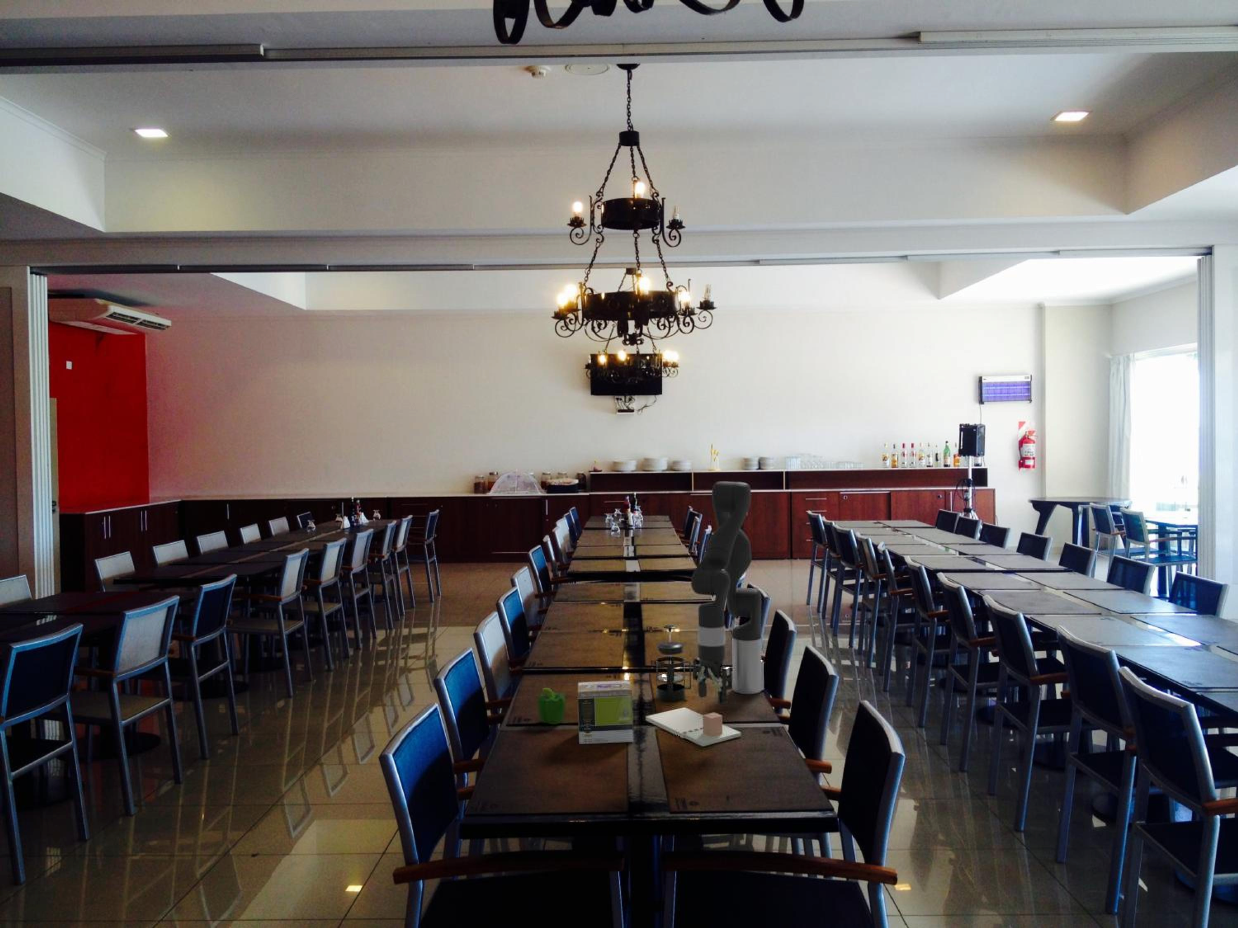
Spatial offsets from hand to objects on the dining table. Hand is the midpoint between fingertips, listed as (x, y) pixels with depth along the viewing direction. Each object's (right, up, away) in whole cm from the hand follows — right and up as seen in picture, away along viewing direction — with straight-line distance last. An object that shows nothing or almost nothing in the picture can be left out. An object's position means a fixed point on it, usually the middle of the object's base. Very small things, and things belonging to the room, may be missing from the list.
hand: (712, 700), depth 238 cm
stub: (0, -10, +1) cm, 10 cm away
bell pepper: (-45, -11, +16) cm, 49 cm away
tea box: (-29, -11, +2) cm, 32 cm away
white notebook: (-7, -10, +12) cm, 17 cm away
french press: (-9, -9, +37) cm, 39 cm away
